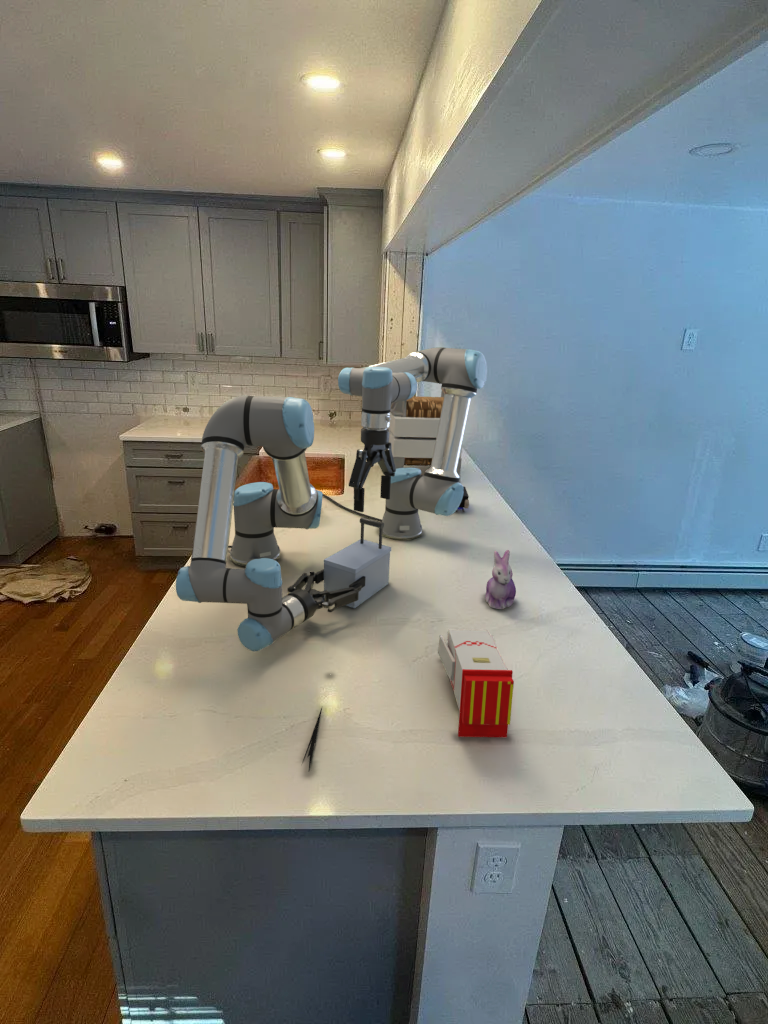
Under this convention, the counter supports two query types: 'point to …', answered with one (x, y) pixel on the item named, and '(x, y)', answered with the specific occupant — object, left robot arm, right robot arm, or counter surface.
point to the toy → (478, 682)
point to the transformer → (415, 431)
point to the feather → (313, 740)
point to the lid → (359, 551)
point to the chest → (373, 582)
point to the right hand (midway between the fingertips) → (372, 504)
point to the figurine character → (464, 501)
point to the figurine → (501, 583)
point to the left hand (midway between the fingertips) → (347, 575)
